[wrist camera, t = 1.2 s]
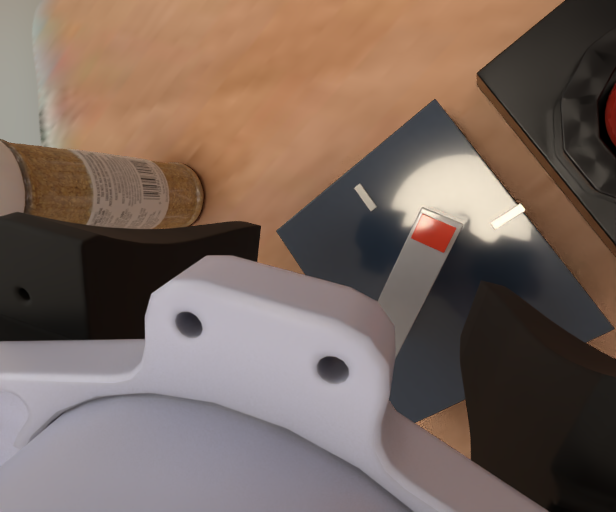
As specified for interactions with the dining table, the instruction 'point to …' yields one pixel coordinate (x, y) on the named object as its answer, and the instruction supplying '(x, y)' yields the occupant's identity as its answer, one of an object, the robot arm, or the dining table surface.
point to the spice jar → (97, 188)
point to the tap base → (460, 263)
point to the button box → (565, 103)
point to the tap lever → (418, 268)
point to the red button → (611, 115)
